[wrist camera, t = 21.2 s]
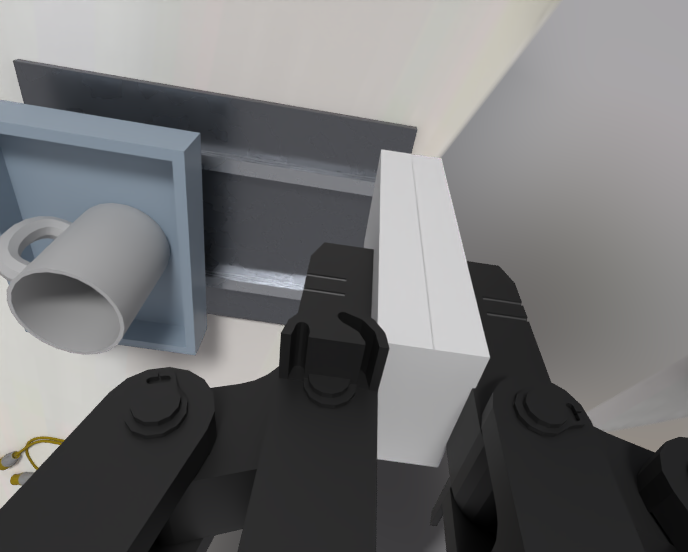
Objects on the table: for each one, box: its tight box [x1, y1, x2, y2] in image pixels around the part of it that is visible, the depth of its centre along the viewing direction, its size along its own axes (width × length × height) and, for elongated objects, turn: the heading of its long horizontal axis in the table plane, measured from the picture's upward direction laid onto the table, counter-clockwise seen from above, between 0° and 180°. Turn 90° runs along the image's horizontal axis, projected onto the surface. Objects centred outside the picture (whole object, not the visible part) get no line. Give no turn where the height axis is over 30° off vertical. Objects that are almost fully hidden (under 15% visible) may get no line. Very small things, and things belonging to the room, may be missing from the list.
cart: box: [0, 100, 207, 355], centre depth 37 cm, size 15×19×6 cm
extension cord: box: [0, 437, 65, 485], centre depth 66 cm, size 12×16×2 cm
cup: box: [0, 203, 170, 354], centre depth 32 cm, size 7×10×9 cm
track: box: [13, 59, 417, 325], centre depth 40 cm, size 30×22×2 cm
